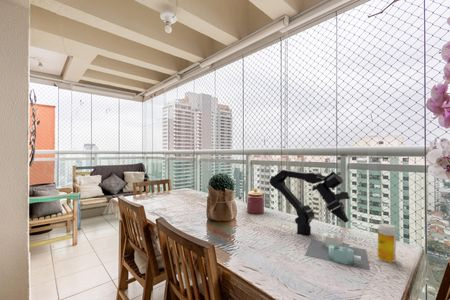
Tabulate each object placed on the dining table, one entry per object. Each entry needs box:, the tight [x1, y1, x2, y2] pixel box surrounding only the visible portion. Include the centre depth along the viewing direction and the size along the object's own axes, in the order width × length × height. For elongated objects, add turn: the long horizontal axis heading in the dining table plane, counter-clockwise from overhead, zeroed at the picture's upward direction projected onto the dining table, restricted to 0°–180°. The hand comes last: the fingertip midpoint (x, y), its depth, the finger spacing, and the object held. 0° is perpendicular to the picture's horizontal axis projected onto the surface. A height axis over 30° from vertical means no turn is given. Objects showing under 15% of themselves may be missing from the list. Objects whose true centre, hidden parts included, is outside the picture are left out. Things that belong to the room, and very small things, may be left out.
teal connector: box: [329, 245, 361, 266], centre depth 92 cm, size 12×4×5 cm, turn 61°
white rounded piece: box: [321, 232, 350, 247], centre depth 105 cm, size 12×4×5 cm, turn 61°
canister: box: [246, 188, 265, 215], centre depth 165 cm, size 13×13×18 cm
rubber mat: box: [304, 239, 371, 271], centre depth 99 cm, size 24×20×1 cm
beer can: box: [377, 222, 397, 263], centre depth 94 cm, size 6×6×15 cm
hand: (347, 221), depth 105 cm, fingers open, 9 cm apart
